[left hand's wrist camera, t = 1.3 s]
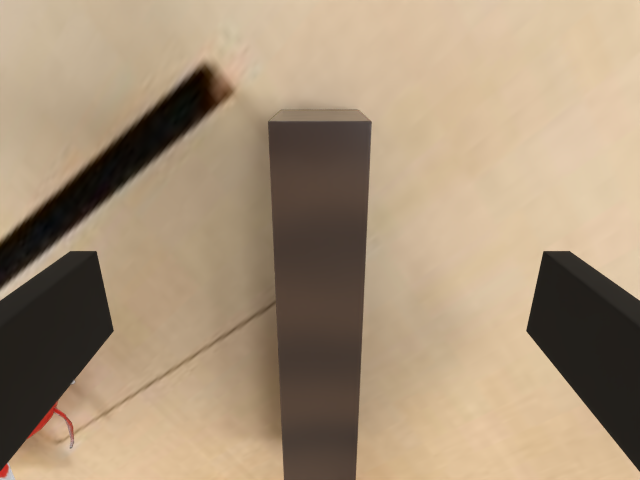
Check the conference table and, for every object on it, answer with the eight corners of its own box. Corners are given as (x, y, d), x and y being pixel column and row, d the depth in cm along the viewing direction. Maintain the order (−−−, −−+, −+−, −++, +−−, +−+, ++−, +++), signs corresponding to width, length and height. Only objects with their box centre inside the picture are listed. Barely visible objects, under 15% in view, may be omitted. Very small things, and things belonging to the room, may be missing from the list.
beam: (280, 109, 27) (267, 120, 20) (359, 109, 27) (371, 120, 20) (291, 439, 37) (285, 517, 30) (347, 439, 37) (353, 517, 30)
